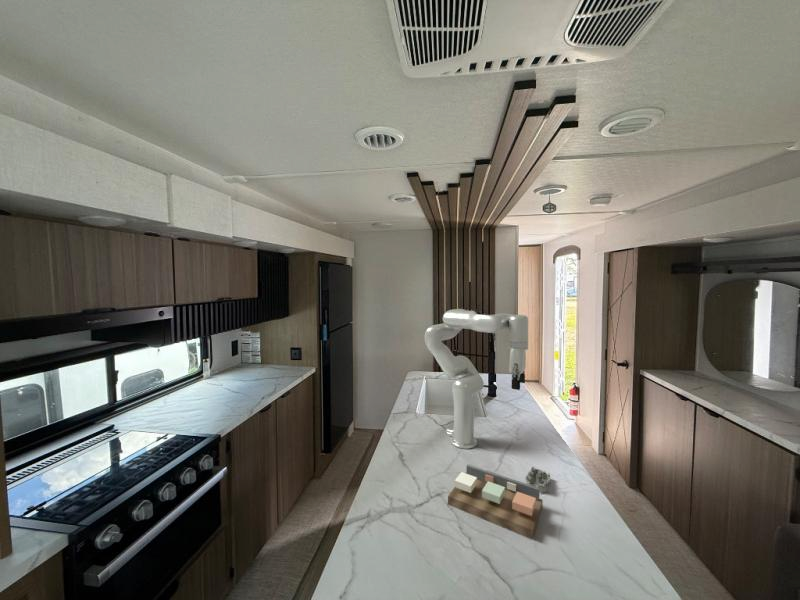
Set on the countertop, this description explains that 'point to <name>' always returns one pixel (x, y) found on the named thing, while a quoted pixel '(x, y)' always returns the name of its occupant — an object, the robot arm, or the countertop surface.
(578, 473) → the countertop surface
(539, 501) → the keypad
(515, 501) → the key terracotta
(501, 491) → the key sage
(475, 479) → the key cream
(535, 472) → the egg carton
